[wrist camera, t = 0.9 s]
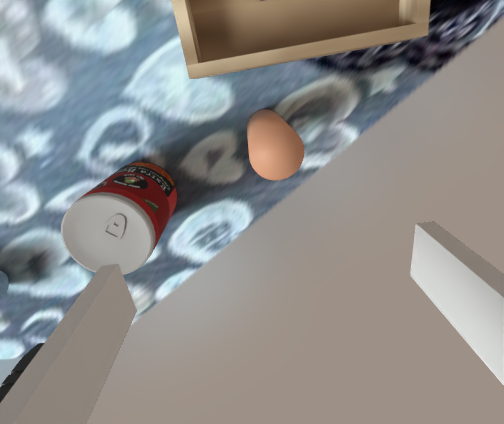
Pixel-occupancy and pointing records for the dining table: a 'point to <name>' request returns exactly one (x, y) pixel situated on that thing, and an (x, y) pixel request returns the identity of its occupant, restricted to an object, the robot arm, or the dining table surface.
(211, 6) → the box
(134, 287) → the dining table surface
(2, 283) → the blue animal figurine
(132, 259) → the canned food
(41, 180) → the dining table surface
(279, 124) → the peg
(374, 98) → the dining table surface
